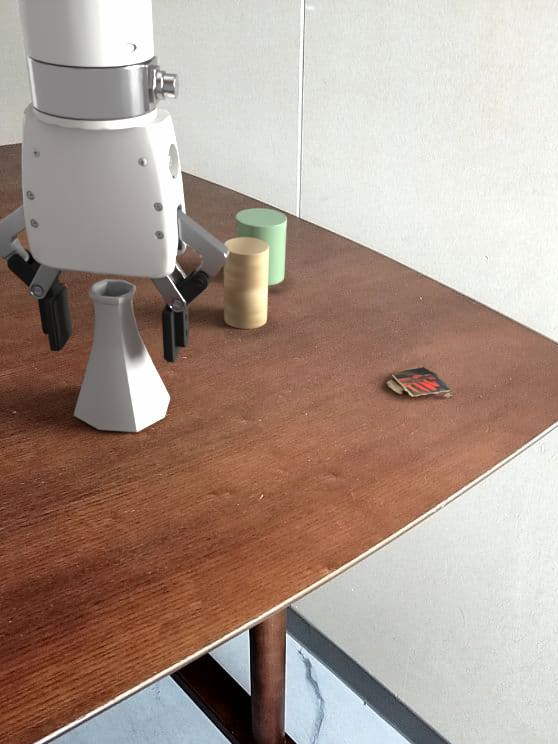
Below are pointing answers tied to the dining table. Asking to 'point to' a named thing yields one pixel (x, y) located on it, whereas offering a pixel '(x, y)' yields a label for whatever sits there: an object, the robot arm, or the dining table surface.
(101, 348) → the flask
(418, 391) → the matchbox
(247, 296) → the birch peg
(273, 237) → the mint green cylinder
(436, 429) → the dining table surface
